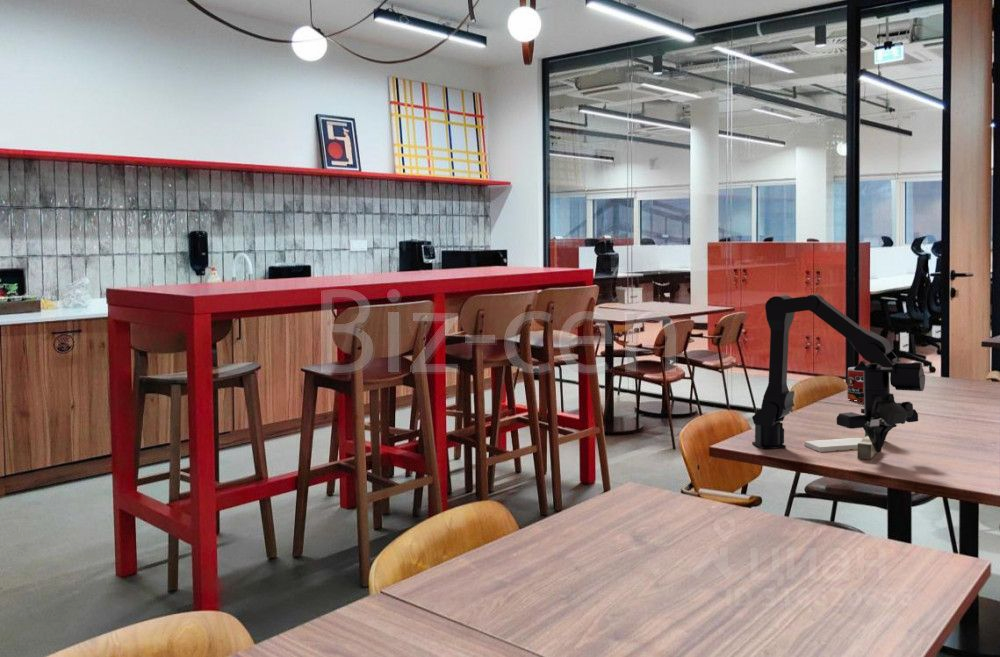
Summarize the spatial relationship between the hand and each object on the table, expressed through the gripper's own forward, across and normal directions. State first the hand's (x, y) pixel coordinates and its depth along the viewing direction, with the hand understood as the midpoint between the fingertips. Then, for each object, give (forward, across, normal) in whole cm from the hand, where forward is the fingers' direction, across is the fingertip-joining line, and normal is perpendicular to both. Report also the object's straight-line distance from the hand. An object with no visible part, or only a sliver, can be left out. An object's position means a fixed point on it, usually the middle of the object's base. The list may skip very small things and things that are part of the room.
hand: (878, 452), depth 201 cm
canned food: (+3, +46, +72) cm, 86 cm away
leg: (+2, +2, +6) cm, 6 cm away
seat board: (+2, -1, +13) cm, 13 cm away
